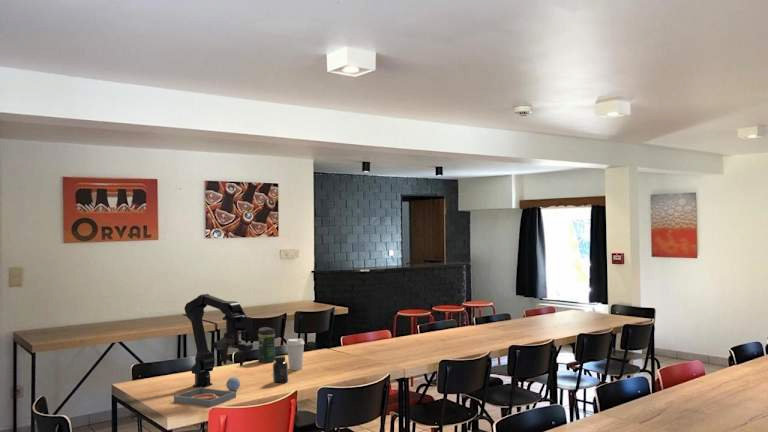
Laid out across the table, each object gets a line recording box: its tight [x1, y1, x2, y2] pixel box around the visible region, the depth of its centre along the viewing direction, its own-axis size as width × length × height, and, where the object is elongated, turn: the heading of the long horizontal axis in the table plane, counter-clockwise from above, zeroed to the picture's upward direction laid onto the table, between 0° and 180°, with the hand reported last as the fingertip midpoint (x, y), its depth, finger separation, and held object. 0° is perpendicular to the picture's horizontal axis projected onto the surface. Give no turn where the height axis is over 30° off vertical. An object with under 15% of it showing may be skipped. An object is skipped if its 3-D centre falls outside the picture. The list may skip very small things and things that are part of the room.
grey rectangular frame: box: [173, 387, 237, 408], centre depth 274 cm, size 20×16×2 cm
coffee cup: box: [285, 338, 305, 371], centre depth 333 cm, size 10×10×15 cm
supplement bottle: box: [272, 355, 289, 384], centre depth 304 cm, size 7×7×12 cm
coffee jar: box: [257, 326, 276, 363], centre depth 354 cm, size 10×8×19 cm
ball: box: [225, 376, 241, 392], centre depth 289 cm, size 6×6×6 cm
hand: (232, 364), depth 289 cm, fingers open, 9 cm apart
